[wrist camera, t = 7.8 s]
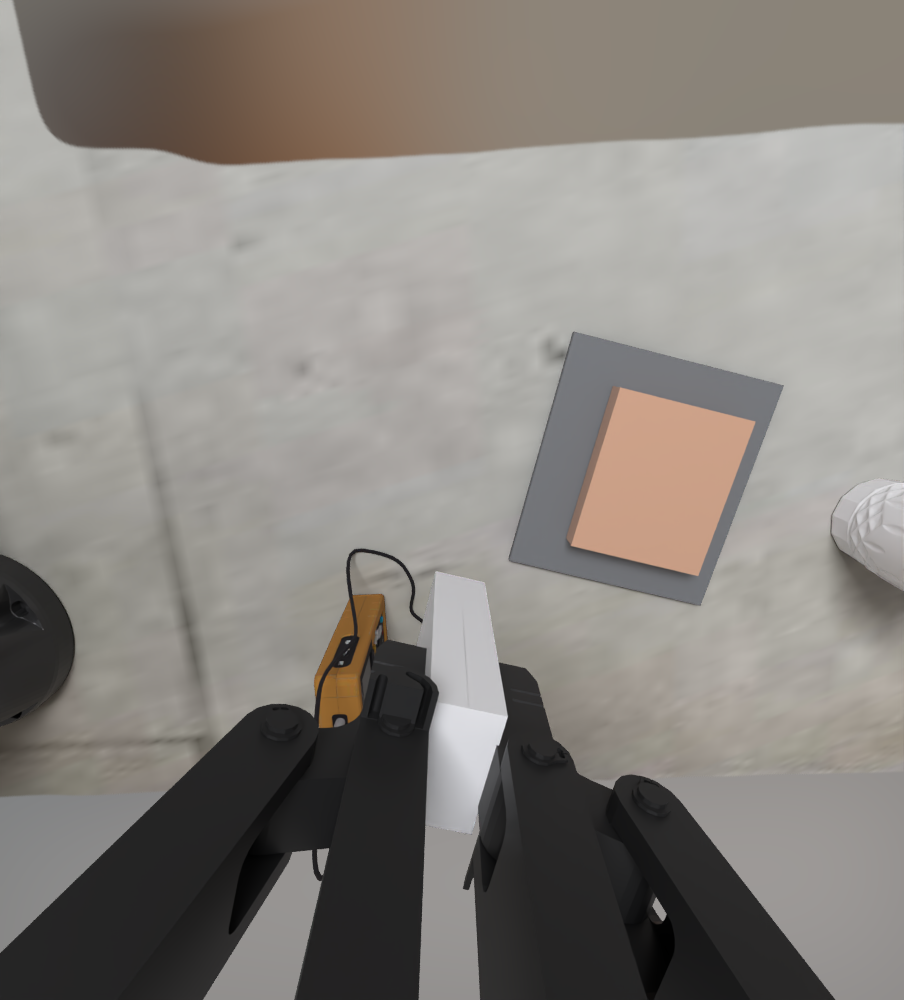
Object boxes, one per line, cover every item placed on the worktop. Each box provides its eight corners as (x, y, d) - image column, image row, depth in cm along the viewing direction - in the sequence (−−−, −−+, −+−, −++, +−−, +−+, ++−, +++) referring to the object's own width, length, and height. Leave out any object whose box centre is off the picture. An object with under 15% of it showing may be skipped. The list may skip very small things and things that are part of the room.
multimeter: (477, 704, 50) (490, 926, 31) (362, 709, 50) (302, 932, 31) (470, 543, 46) (479, 678, 27) (346, 548, 47) (267, 686, 27)
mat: (508, 558, 47) (509, 560, 46) (572, 332, 42) (574, 331, 42) (697, 602, 47) (700, 605, 47) (779, 385, 43) (783, 385, 43)
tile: (571, 545, 43) (698, 576, 44) (620, 387, 40) (755, 421, 41) (565, 536, 46) (686, 565, 46) (611, 385, 43) (740, 418, 43)
